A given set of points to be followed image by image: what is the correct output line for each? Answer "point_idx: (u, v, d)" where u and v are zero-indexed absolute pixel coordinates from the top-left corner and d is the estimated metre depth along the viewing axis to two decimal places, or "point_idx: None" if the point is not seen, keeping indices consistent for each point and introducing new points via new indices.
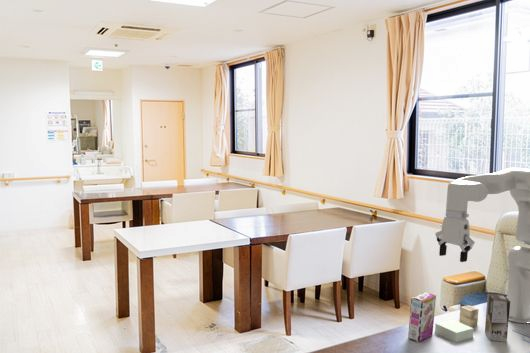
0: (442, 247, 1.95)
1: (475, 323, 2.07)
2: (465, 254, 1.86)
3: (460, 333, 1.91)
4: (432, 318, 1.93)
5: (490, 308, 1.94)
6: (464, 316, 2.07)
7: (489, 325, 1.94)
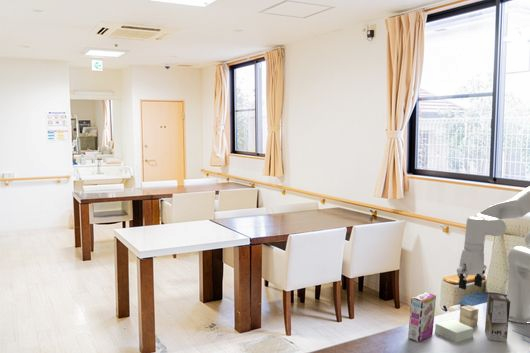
0: None
1: (475, 323, 2.07)
2: None
3: (460, 333, 1.91)
4: (432, 318, 1.93)
5: (490, 308, 1.94)
6: (464, 316, 2.07)
7: (489, 325, 1.94)
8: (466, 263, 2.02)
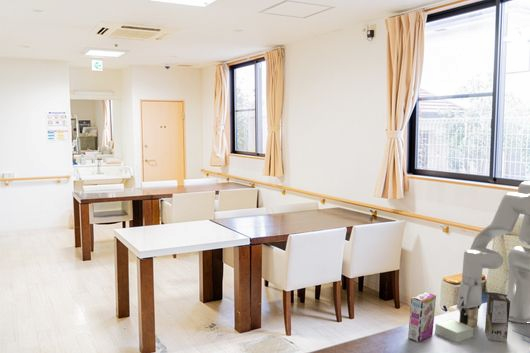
0: None
1: (475, 323, 2.07)
2: None
3: (461, 333, 1.91)
4: (432, 318, 1.93)
5: (490, 308, 1.94)
6: None
7: (489, 325, 1.94)
8: (464, 296, 2.04)
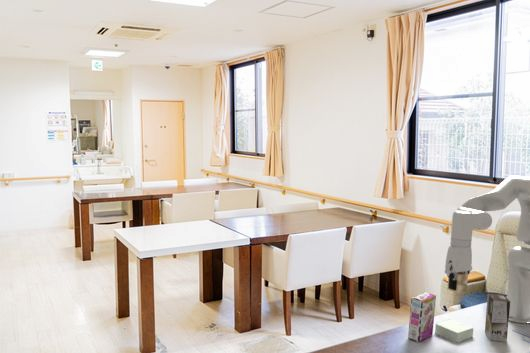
0: None
1: (464, 289, 1.93)
2: None
3: (461, 333, 1.91)
4: (432, 318, 1.93)
5: (490, 308, 1.94)
6: None
7: (489, 325, 1.94)
8: (452, 260, 1.90)
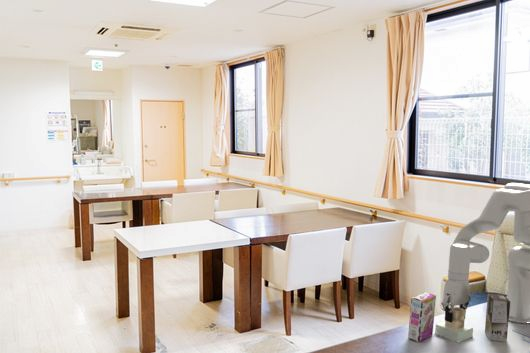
0: None
1: (462, 325, 1.95)
2: None
3: (461, 333, 1.91)
4: (432, 318, 1.93)
5: (490, 308, 1.94)
6: None
7: (489, 325, 1.94)
8: (450, 293, 1.92)
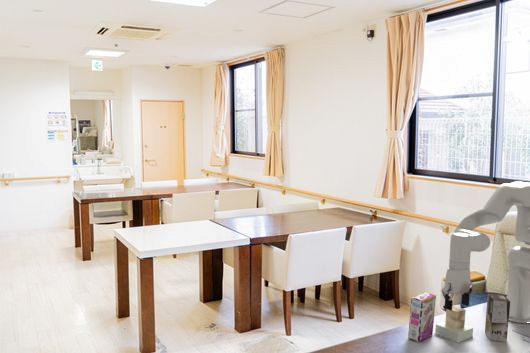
0: None
1: (462, 325, 1.94)
2: None
3: (461, 333, 1.91)
4: (432, 318, 1.93)
5: (490, 308, 1.94)
6: (450, 317, 1.95)
7: (489, 325, 1.94)
8: (451, 283, 1.91)
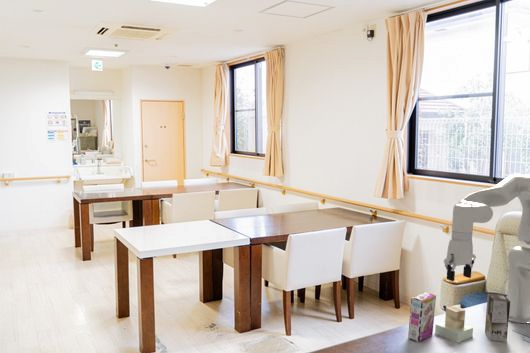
0: None
1: (462, 325, 1.94)
2: None
3: (461, 333, 1.91)
4: (432, 318, 1.93)
5: (490, 308, 1.94)
6: (450, 317, 1.95)
7: (489, 325, 1.94)
8: (454, 253, 1.91)
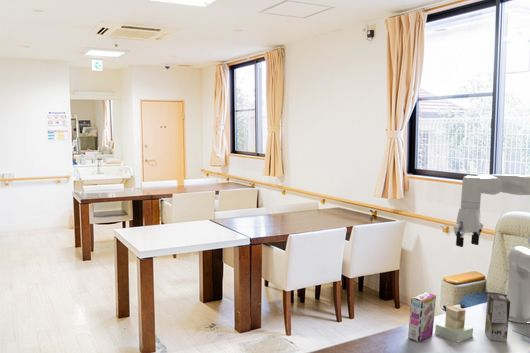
0: None
1: (462, 325, 1.95)
2: None
3: (461, 333, 1.91)
4: (432, 318, 1.93)
5: (490, 308, 1.94)
6: (450, 317, 1.95)
7: (489, 325, 1.94)
8: (463, 221, 2.06)
